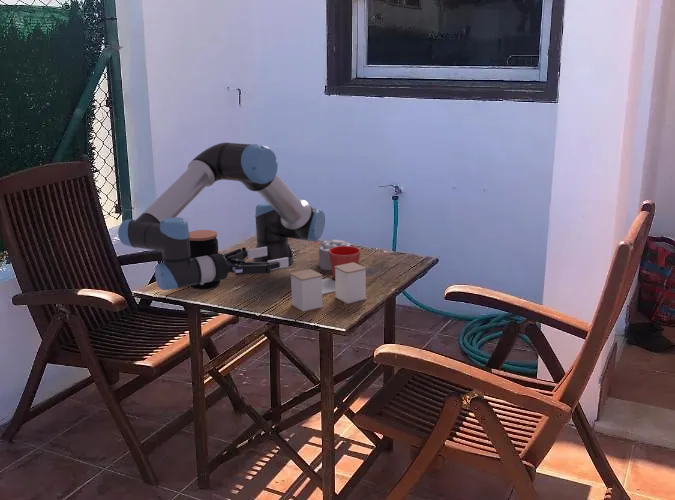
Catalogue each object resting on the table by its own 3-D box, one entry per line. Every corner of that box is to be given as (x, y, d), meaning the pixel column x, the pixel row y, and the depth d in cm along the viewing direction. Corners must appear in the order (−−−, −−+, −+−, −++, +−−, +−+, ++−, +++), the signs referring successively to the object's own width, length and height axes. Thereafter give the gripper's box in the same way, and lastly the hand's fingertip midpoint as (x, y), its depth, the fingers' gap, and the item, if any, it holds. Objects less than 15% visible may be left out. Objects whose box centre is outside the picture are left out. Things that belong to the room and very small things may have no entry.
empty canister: (334, 297, 235) (334, 266, 232) (353, 292, 239) (353, 262, 236) (347, 303, 229) (346, 272, 226) (366, 299, 233) (366, 268, 230)
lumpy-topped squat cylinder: (354, 261, 271) (353, 239, 269) (338, 271, 260) (338, 248, 258) (329, 258, 276) (328, 236, 273) (312, 268, 265) (312, 245, 262)
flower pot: (357, 282, 249) (357, 255, 246) (326, 280, 251) (325, 253, 248) (362, 272, 258) (362, 246, 256) (332, 271, 261) (332, 245, 258)
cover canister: (291, 304, 229) (290, 273, 226) (311, 300, 233) (310, 268, 230) (302, 311, 223) (301, 279, 220) (323, 306, 227) (322, 275, 224)
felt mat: (298, 285, 246) (298, 284, 246) (328, 279, 252) (328, 278, 252) (316, 295, 236) (316, 294, 236) (347, 288, 243) (347, 287, 242)
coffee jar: (226, 281, 252) (223, 231, 246) (211, 291, 242) (207, 239, 237) (198, 278, 255) (195, 228, 250) (183, 288, 245) (178, 236, 240)
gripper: (195, 269, 218) (258, 258, 229) (229, 293, 198) (297, 279, 209) (193, 245, 216) (258, 235, 227) (228, 266, 196) (297, 254, 207)
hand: (277, 256), depth 218 cm, fingers open, 13 cm apart
